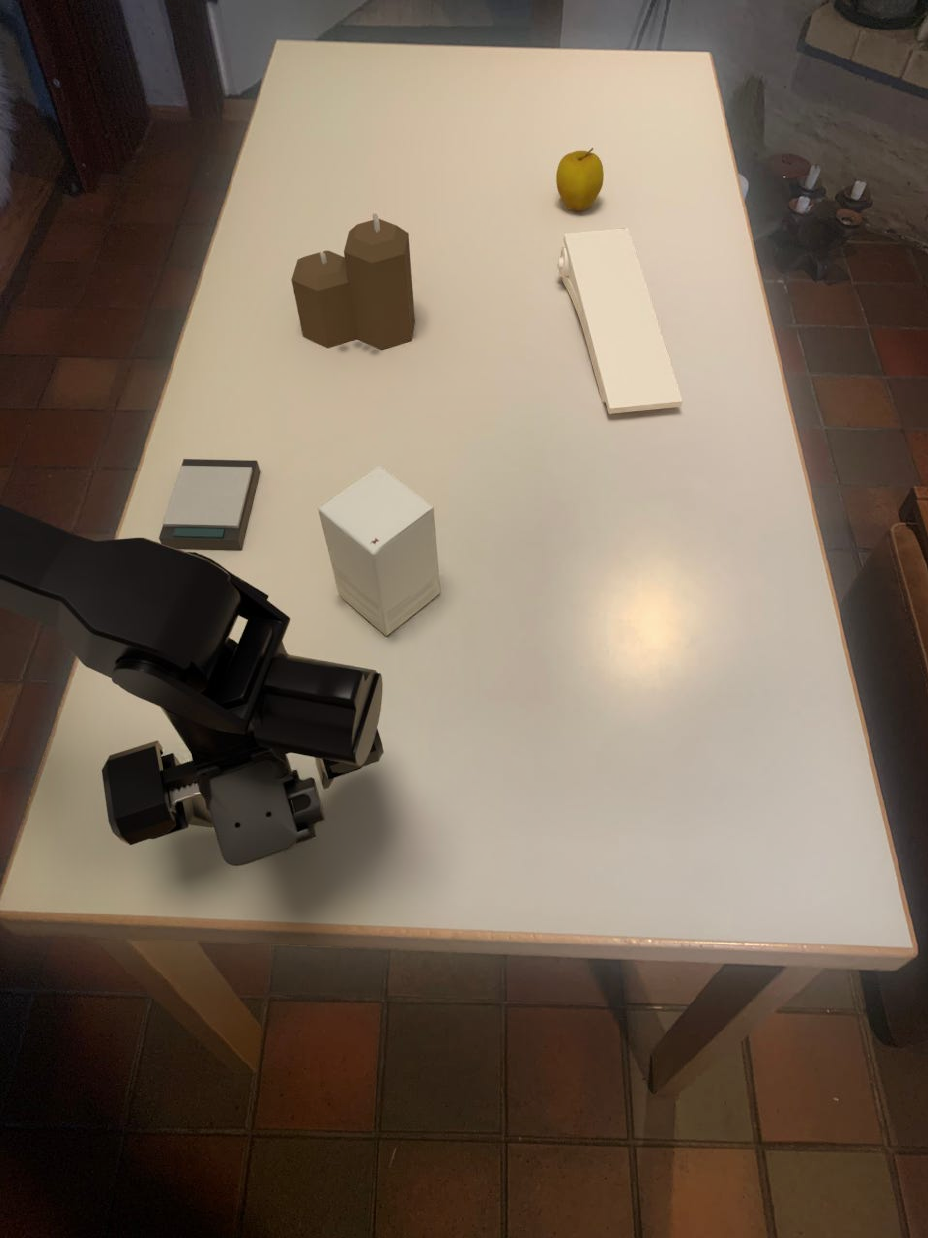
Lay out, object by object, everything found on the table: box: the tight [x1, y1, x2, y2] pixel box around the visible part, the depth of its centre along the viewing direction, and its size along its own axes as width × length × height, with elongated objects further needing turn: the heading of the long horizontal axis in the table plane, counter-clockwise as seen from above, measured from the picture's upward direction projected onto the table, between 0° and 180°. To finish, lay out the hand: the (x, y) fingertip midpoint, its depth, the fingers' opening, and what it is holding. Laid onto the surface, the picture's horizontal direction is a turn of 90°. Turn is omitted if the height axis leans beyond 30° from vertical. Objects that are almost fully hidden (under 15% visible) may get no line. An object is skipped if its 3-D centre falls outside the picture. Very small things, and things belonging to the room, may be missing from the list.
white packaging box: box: [317, 465, 441, 637], centre depth 76 cm, size 7×7×13 cm
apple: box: [555, 147, 604, 211], centre depth 115 cm, size 6×6×8 cm
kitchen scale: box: [158, 458, 261, 551], centre depth 87 cm, size 11×8×2 cm
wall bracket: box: [556, 227, 683, 415], centre depth 102 cm, size 10×7×28 cm
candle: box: [290, 212, 416, 351], centre depth 99 cm, size 14×14×15 cm
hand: (269, 802), depth 66 cm, fingers open, 9 cm apart
